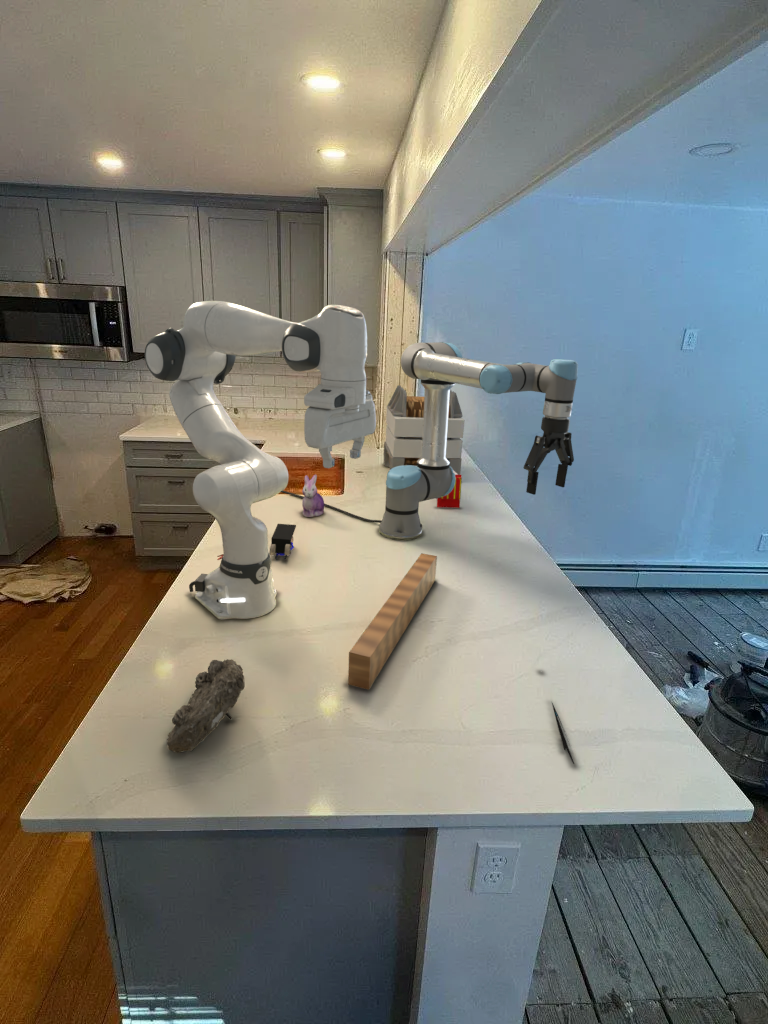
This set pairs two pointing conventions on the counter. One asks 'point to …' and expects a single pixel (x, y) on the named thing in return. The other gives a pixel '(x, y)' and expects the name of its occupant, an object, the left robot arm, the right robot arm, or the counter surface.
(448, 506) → the toy
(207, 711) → the fossil
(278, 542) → the figurine character
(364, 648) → the post
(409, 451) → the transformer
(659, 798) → the counter surface
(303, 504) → the figurine
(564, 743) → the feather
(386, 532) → the right robot arm
